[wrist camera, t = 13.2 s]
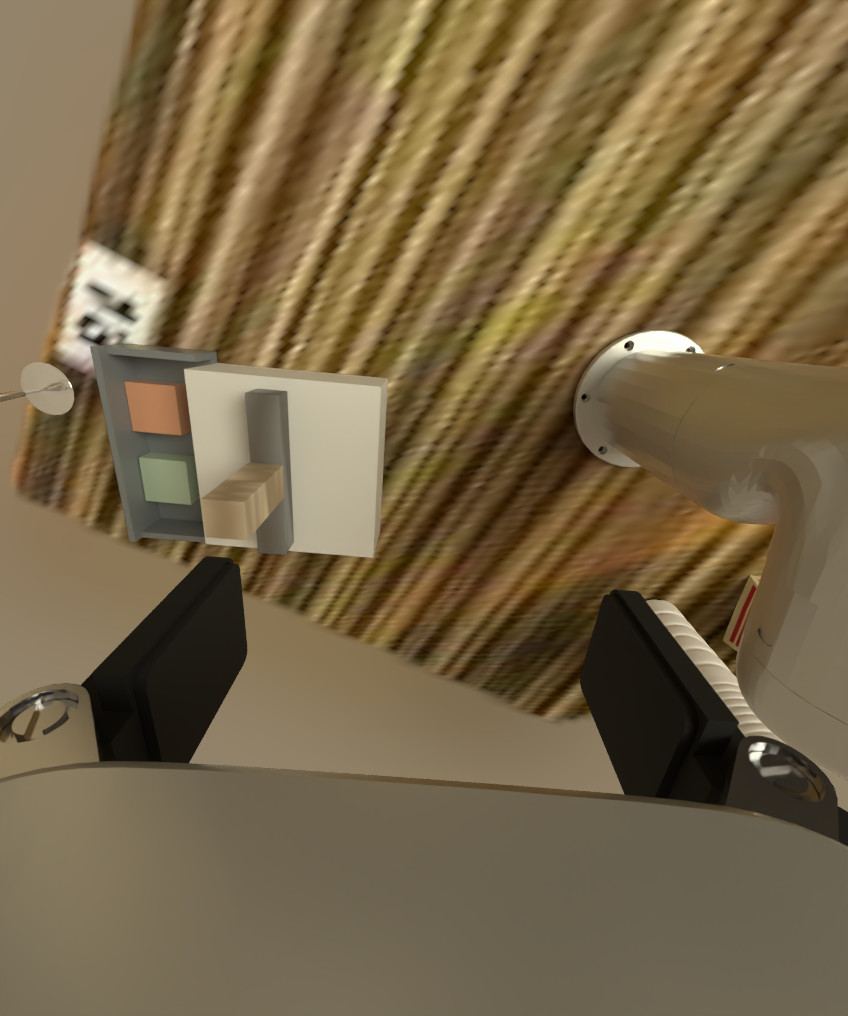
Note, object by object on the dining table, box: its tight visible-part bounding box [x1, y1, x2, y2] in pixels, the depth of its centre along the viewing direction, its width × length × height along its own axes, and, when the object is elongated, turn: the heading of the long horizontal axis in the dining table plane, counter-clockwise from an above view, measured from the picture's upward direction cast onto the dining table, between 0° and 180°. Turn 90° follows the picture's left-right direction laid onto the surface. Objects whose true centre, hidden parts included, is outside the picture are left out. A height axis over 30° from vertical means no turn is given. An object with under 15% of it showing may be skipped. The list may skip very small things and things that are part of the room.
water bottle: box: [646, 599, 786, 744], centre depth 40 cm, size 9×6×25 cm
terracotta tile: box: [124, 379, 192, 435], centre depth 41 cm, size 4×4×2 cm
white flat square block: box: [184, 363, 388, 558], centre depth 41 cm, size 16×16×6 cm
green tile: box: [139, 452, 200, 505], centre depth 44 cm, size 4×4×2 cm
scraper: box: [201, 389, 294, 555], centre depth 34 cm, size 3×14×10 cm, turn 176°
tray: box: [90, 344, 217, 543], centre depth 41 cm, size 8×18×5 cm, turn 175°
